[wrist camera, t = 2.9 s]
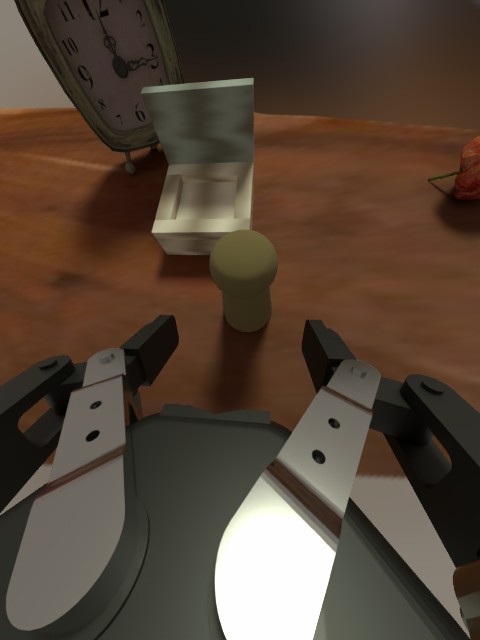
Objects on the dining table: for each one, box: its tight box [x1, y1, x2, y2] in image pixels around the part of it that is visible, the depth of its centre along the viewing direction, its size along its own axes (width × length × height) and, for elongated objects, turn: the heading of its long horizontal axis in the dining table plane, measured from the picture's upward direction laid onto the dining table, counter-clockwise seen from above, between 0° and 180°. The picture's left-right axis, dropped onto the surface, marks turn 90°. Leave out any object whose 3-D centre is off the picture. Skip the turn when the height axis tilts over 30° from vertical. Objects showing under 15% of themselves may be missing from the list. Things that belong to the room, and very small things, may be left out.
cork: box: [209, 230, 278, 332], centre depth 17 cm, size 6×6×11 cm
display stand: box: [141, 78, 254, 255], centre depth 22 cm, size 12×13×11 cm
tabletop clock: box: [14, 0, 184, 174], centre depth 21 cm, size 14×9×25 cm, turn 114°
